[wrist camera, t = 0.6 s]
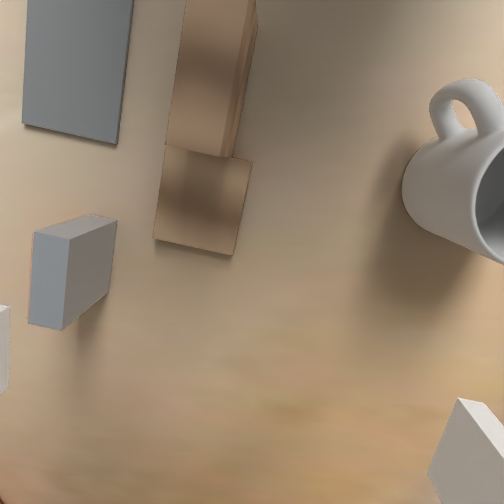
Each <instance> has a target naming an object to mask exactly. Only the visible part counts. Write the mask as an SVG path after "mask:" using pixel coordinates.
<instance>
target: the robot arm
mask: <svg viewBox="0 0 504 504" xmlns="http://www.w3.org/2000/svg"><path fill="white" fill-rule="evenodd" d="M9 320H10V307H9V306H4V305H0V395H1V394H2V393H3V392H4V391H5V390H7V389H8V388H9ZM427 474H428V476H429V478H430V480H431V482H432V484H433V486H434V488H435V490H436V493H437V495H438V497H439V499H440V501H441V503H442V504H504V426H503V425H502V424H501V423H500V422H499V420H498V419H497V418H496V417H495V416H494V414H493V413H492V412H491V411H490V410H489V408H488V407H487V406H486V405H485V404H484V403H482V402H477V401H472V400H467V399H462V398H457V401H456V403H455V405H454V408H453V410H452V413H451V415H450V418H449V420H448V423H447V425H446V427H445V430H444V432H443V435H442V437H441V440H440V442H439V444H438V447H437V449H436V452H435V454H434V457H433V459H432V462H431V464H430V466H429V469H428V471H427Z"/></svg>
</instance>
